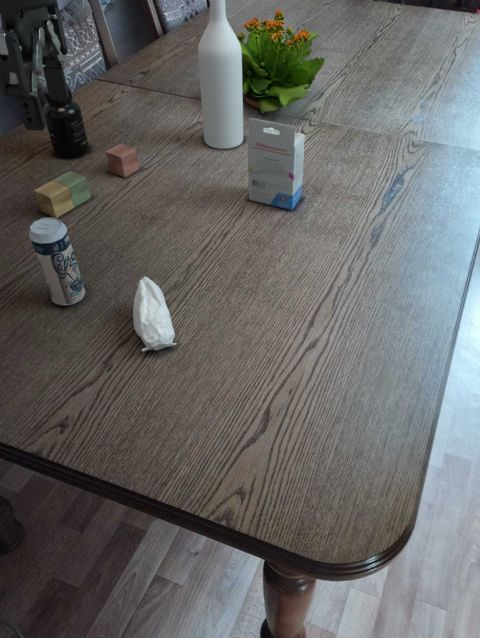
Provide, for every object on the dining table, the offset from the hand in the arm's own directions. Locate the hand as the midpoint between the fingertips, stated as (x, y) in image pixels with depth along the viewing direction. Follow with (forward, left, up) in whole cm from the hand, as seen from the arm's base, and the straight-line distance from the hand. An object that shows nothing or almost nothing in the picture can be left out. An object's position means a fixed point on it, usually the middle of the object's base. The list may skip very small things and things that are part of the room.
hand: (48, 113), depth 65 cm
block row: (-18, +18, -24) cm, 35 cm away
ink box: (+11, +34, -24) cm, 43 cm away
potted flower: (-15, +69, -24) cm, 74 cm away
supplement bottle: (-32, +26, -24) cm, 48 cm away
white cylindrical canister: (+1, -5, -24) cm, 25 cm away
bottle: (-10, +47, -24) cm, 53 cm away
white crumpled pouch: (+16, -3, -24) cm, 29 cm away
